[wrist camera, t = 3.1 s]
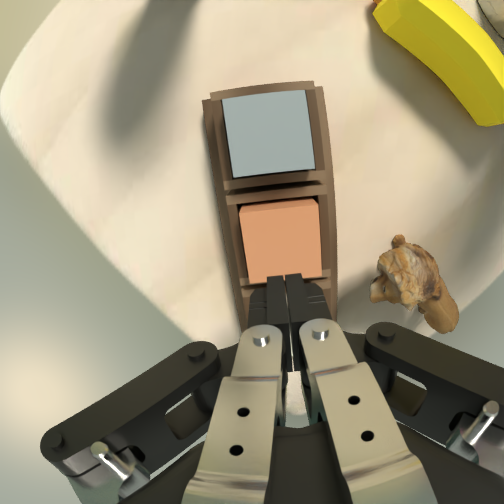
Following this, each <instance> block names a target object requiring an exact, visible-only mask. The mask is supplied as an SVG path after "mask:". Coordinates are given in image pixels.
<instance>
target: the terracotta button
mask: <svg viewBox="0 0 504 504" xmlns="http://www.w3.org/2000/svg"><path fill="white" fill-rule="evenodd" d="M239 217H240V223H241V230H242V236H243V242H244V249H245V255H246V262H247V268H248V274H249V281H250V284H251V283H262V282H267V277H268V276H277V275H283V277H284V280H285V275H286V274H295V273H301V274H302V278H309V277H318V276H322V265H321V242H320V224H319V209H318V204H317V203H316V202H315V200H314V199H313V198H312V197H311V196H308V197H298V198H288V199H279V200H270V201H261V202H253V203H245V204H243V205H242V207H241V210H240V212H239Z"/></svg>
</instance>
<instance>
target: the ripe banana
mask: <svg viewBox="0 0 504 504" xmlns="http://www.w3.org/2000/svg"><path fill="white" fill-rule="evenodd" d="M373 1H374V2H375V3H376V4H377V7H376V8H375V10H374V12H373V13H372V14H373V16H374V17H375V19H376V20H377V22H378V24H379V25H380V27H381V28H382V30H383V32H384V33H385V34H387V35H388V36H390V37H391V38H392V39H394V40H395V41H397V42H398V43H399V44H401V45H402V46H403V47H404V48H406V49H407V50H408V51H410V52H411V53H412V54H413V55H414V56H416V57H417V58H418V59H419V60H420V61H422V62H423V63H424V64H425V65H426V66H427V67H429V68H430V69H431V70H432V71H433V72H434V73H435V74H436V75H437V76H438V77H439V78H440V79H441V80H442V81H443V82H444V83H445V84H446V85H447V86H448V88H449V89H450V90H451V91H452V92H453V94H454V95H455V96H456V97H457V98H458V100H459V101H460V102H461V103H462V105H463V106H464V107H465V109H466V110H467V111H468V113H469V114H470V115H471V117H472V118H473V119H474V121H475V122H476V124H477V125H479V126H486V127H489V126H493V125H498V124H504V56H503V54H502V53H501V52H500V50H499V49H498V47H497V46H496V45H495V43H494V42H493V41H492V39H491V38H490V37H489V35H488V34H487V33H486V32H485V31H484V30H483V29H482V28H481V27H480V26H479V25H478V24H477V23H476V22H475V21H474V20H473V19H472V18H471V17H470V16H469V15H468V14H467V13H466V12H465V11H464V10H463V9H461V8H460V7H459V6H458V5H457V4H456V3H455V2H453V1H452V0H373Z"/></svg>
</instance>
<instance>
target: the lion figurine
mask: <svg viewBox="0 0 504 504" xmlns="http://www.w3.org/2000/svg"><path fill="white" fill-rule="evenodd" d="M393 243H394V245H395V246H396V248H394V249H392V250H389V251H388V252H385V253H383V254H382V255H381V256H380V257H379V260H378V268H379V270H380V273H381V275H380V276H378V277H376V278H375V279H373V280H372V281H371V286H370V301H371V302H372V303H377V302H380V301H385V300H388V301H389V302H391V303H393V304H395V303H401V304H402V305H404V306H405V307H406V308H407V309H408V310H409V311H411V310H412V308H413V307H414V306H415V305H416V304H418V305H419V312H420V313H422V314H424V318H425V320H426V321H427V323H428V324H429V325H430V326H431V327H432V328H433V329H435V330H436V331H438V332H439V333H441V334H445V333H447V332H452V331H453V330H454V329H455V326H456V325H457V323H458V320H459V311H458V307H457V304H456V303H455V301H454V300H453V299H452V298H451V296H450V295H449V293H448V291H447V288H446V286H445V284H444V282H443V280H442V278H441V277H440V275H439V270H438V266H437V264H436V262H435V260H434V258H433V257H432V256H431V255H430V254H429V253H428V252H427V251H425V250H424V249H423V248H421V247H420V246H419V245H416V244H413V245H411V243H406V242H405V238H404V236H403V235H396V236H395V237H394V239H393Z"/></svg>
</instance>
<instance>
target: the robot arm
mask: <svg viewBox="0 0 504 504" xmlns="http://www.w3.org/2000/svg"><path fill="white" fill-rule="evenodd" d="M478 2H479V4H480V6H481V8H482V10H483V12H484V14H485V15H486V17H487V19H488V20H489V22H490V23H491V24H492V26H493V27H494V28H495V30H496V31H497V32H498V33H499V34H500V35H501V37H503V38H504V0H478ZM285 285H286V292H285ZM285 285H284V277H283V275H277V276H268V277H267V288H259V289H255V290H254V291H253V293H252V294H251V295H250V302H249V303H250V304H249V312H248V322H247V330H245V331H244V332H243V333H242V335H241V337H240V341H239V343H237V344H235V345H233V346H231V347H228V348H224V349H220V350H217V348H216V346H215V345H214V344H212V343H210V342H206V341H197V342H192V343H189V344H187V345H186V346H184V347H182V348H181V349H179V350H178V351H176V352H175V353H173V354H172V355H170V356H169V357H167V358H166V359H164V360H163V361H161V362H159V363H158V364H156V365H155V366H153V367H152V368H150V369H149V370H147V371H146V372H144V373H142V374H141V375H139V376H138V377H136V378H134V379H133V380H131V381H130V382H128V383H126V384H125V385H123V386H122V387H120V388H118V389H117V390H115V391H114V392H112V393H110V394H109V395H107V396H105V397H104V398H102V399H101V400H99V401H97V402H95V403H94V404H92V405H91V406H89V407H87V408H86V409H84V410H82V411H80V412H79V413H77V414H75V415H74V416H72V417H70V418H68V419H67V420H65V421H63V422H61V423H60V424H58V425H56V426H54V427H52V428H51V429H49V430H48V431H47V432H46V433H45V434H44V436H43V437H42V439H41V443H40V449H41V453H42V455H43V456H44V457H45V458H46V459H47V460H48V461H49V462H50V463H52V464H53V465H54V466H55V467H56V468H58V469H59V471H60V472H61V473H62V474H64V475H65V476H66V477H67V478H68V480H69V482H70V484H71V485H72V487H73V489H74V491H75V493H76V495H77V496H78V498H79V500H80V502H81V503H82V504H504V368H502V367H499V366H497V365H494V364H492V363H489V362H487V361H484V360H482V359H479V358H477V357H474V356H472V355H469V354H467V353H465V352H462V351H460V350H457V349H455V348H452V347H450V346H448V345H445V344H443V343H440V342H438V341H435V340H433V339H431V338H428V337H426V336H423V335H421V334H418V333H416V332H414V331H411V330H409V329H406V328H404V327H402V326H399V325H397V324H394V323H390V322H380V323H376V324H374V325H372V326H370V327H369V328H368V329H367V331H366V334H352V333H347V332H344V331H342V329H341V327H340V326H339V325H338V324H337V323H336V322H334V321H333V319H332V316H331V313H330V311H329V308H328V305H327V302H326V299H325V296H324V294H323V291H322V288H321V287H320V286H318V285H317V284H316V283H306V284H304V281H303V278H302V274H301V273H295V274H286V275H285ZM286 297H287V300H286ZM290 335H291V340H290ZM291 344H292V353H293V363H294V371H300V373H301V388H302V393H303V397H304V402H305V406H306V411H307V415H308V420H309V426H307V427H304V428H290V427H285V422H286V401H287V383H288V372H293V369H292V354H291ZM397 372H400V373H402V374H404V375H406V376H408V377H410V378H412V379H415V380H416V381H418V382H421V383H422V384H423V385H425V387H426V389H427V390H425V389H423V388H421V387H419V386H416V385H415V384H413V383H410V382H408V381H407V380H405V379H403V378H400V377H399V376H397ZM190 393H191V395H192V396H190V397H189V398H188V399H186V400H185V401H184V402H182V403H181V404H180V405H178V406H177V407H176V408H174V409H173V410H171V411H170V412H169V413H167V414H166V412H167V410H168V409H170V408H171V407H172V406H174V405H175V404H176V403H178V402H179V401H181V400H182V399H183V398H185V397H186V396H187V395H189V394H190ZM165 414H166V415H165ZM395 419H396V420H398V421H400V422H401V423H403V424H405V425H403V424H401V423H398V422H396V421H395ZM406 425H407V426H406ZM408 426H409V427H408ZM411 428H412V429H411ZM413 429H414V430H413ZM415 430H416V431H418V432H420V433H422V434H424V435H426V436H428V437H430V438H431V439H433V440H436V441H437V442H439V443H441V444H444V445H445V446H446V448H445V447H443V446H441V445H439V444H438V443H436V442H434V441H432V440H430V439H429V438H427V437H425V436H423V435H422V434H420V433H418V432H416V431H415ZM206 432H208V433H207V436H206V440H205V441H203V442H201V443H200V444H197V445H196V446H194V447H193V448H191V449H190V450H189V451H188V452H186V453H185V454H184V455H183V456H181V457H180V458H179V459H178V460H177V461H175V462H174V463H173V464H171V465H170V466H169V467H168V468H166V469H165V470H164V471H162V472H161V473H160V474H159V475H157V476H156V477H154V478H153V479H152V480H150V474H152V473H153V472H155V471H156V470H158V469H159V468H160V467H162V466H163V465H165V464H166V463H167V462H169V461H170V460H172V459H173V458H174V457H176V456H177V455H178V454H180V453H181V452H182V451H184V450H185V449H186V448H187V447H189V446H190V445H191V444H193V443H194V442H195V441H196V440H198V439H199V438H200V437H201V436H203V435H204V434H205V433H206Z"/></svg>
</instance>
